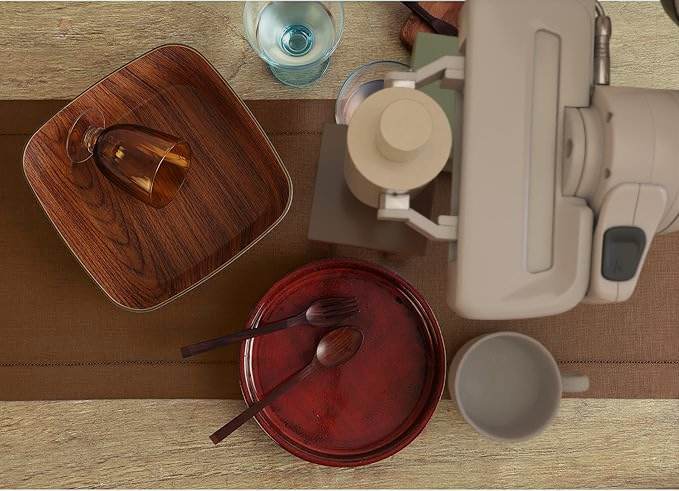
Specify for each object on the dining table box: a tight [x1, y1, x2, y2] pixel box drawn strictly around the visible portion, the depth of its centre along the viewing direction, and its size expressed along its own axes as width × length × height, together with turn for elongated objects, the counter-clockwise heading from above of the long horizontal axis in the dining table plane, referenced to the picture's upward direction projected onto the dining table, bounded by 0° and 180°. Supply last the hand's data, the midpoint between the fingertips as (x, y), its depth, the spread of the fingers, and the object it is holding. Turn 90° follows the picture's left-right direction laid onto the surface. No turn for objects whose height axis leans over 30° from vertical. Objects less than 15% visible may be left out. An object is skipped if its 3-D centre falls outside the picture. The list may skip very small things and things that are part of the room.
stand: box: [306, 121, 437, 261], centre depth 60 cm, size 10×10×18 cm
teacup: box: [447, 331, 590, 445], centre depth 64 cm, size 14×11×8 cm
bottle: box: [344, 87, 452, 208], centre depth 38 cm, size 6×6×12 cm
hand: (381, 147), depth 37 cm, fingers closed on bottle, 6 cm apart
